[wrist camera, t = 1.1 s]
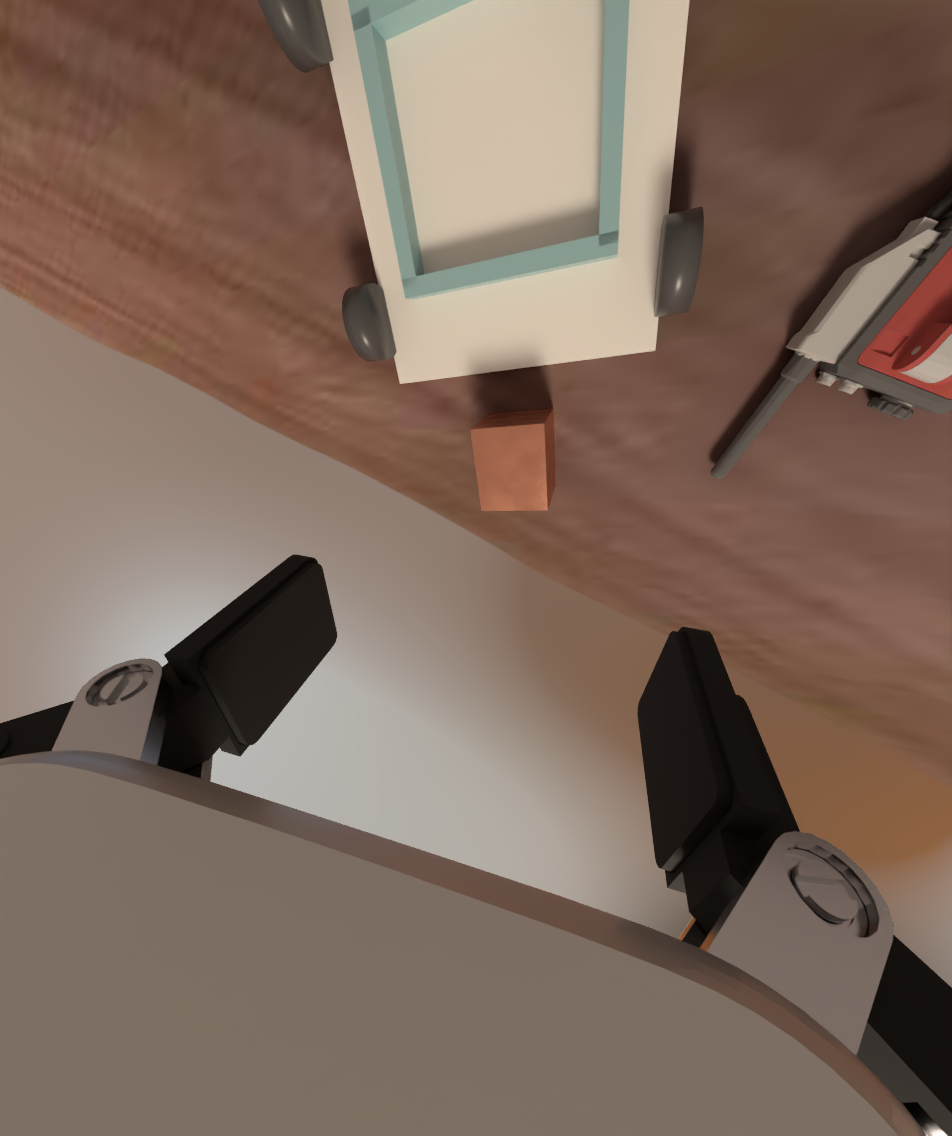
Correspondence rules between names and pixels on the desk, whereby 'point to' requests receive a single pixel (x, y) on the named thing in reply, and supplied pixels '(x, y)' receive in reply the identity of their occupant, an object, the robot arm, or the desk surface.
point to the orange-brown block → (515, 460)
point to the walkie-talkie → (877, 331)
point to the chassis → (507, 174)
